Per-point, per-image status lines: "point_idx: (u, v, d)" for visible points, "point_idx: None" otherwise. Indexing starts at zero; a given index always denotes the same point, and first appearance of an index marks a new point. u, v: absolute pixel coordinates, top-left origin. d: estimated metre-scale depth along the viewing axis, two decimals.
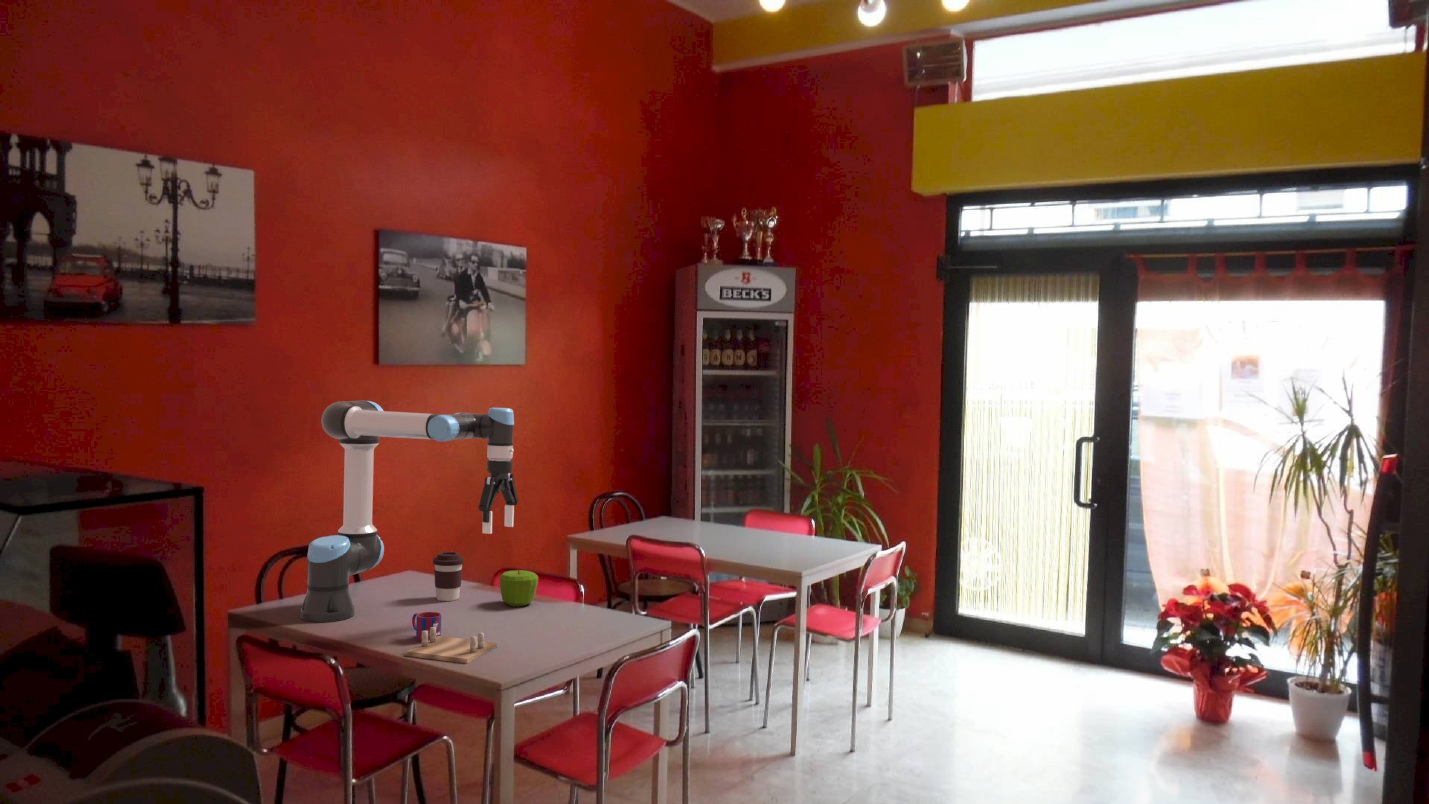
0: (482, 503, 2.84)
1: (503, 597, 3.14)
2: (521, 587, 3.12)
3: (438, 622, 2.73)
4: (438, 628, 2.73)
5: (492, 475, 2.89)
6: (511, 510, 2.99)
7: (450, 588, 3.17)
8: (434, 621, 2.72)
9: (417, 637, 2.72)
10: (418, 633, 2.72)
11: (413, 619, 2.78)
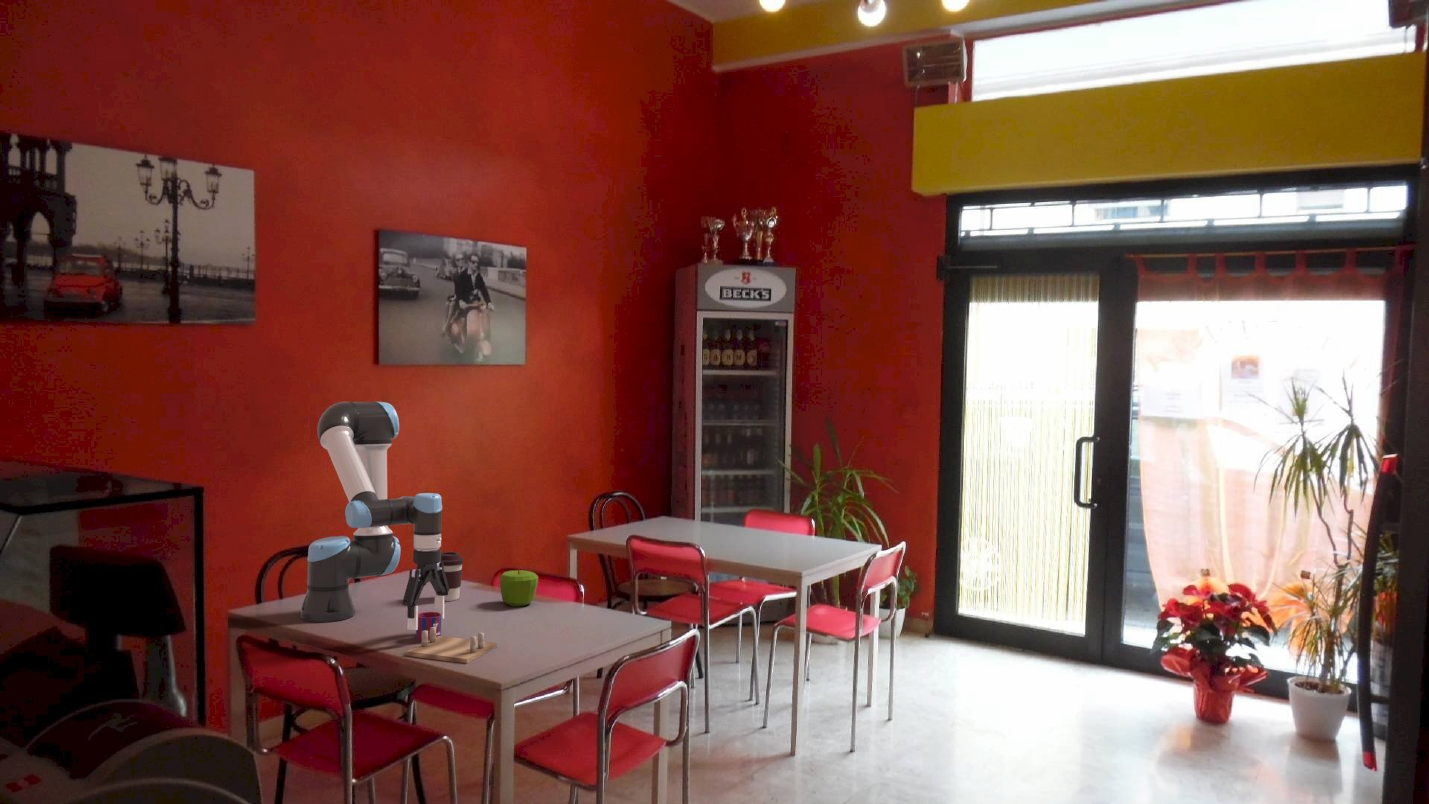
0: (406, 598, 2.66)
1: (503, 597, 3.14)
2: (521, 587, 3.12)
3: (438, 622, 2.73)
4: (438, 628, 2.73)
5: (418, 566, 2.72)
6: (441, 601, 2.81)
7: (450, 588, 3.17)
8: (434, 621, 2.72)
9: (417, 637, 2.72)
10: (418, 633, 2.72)
11: None
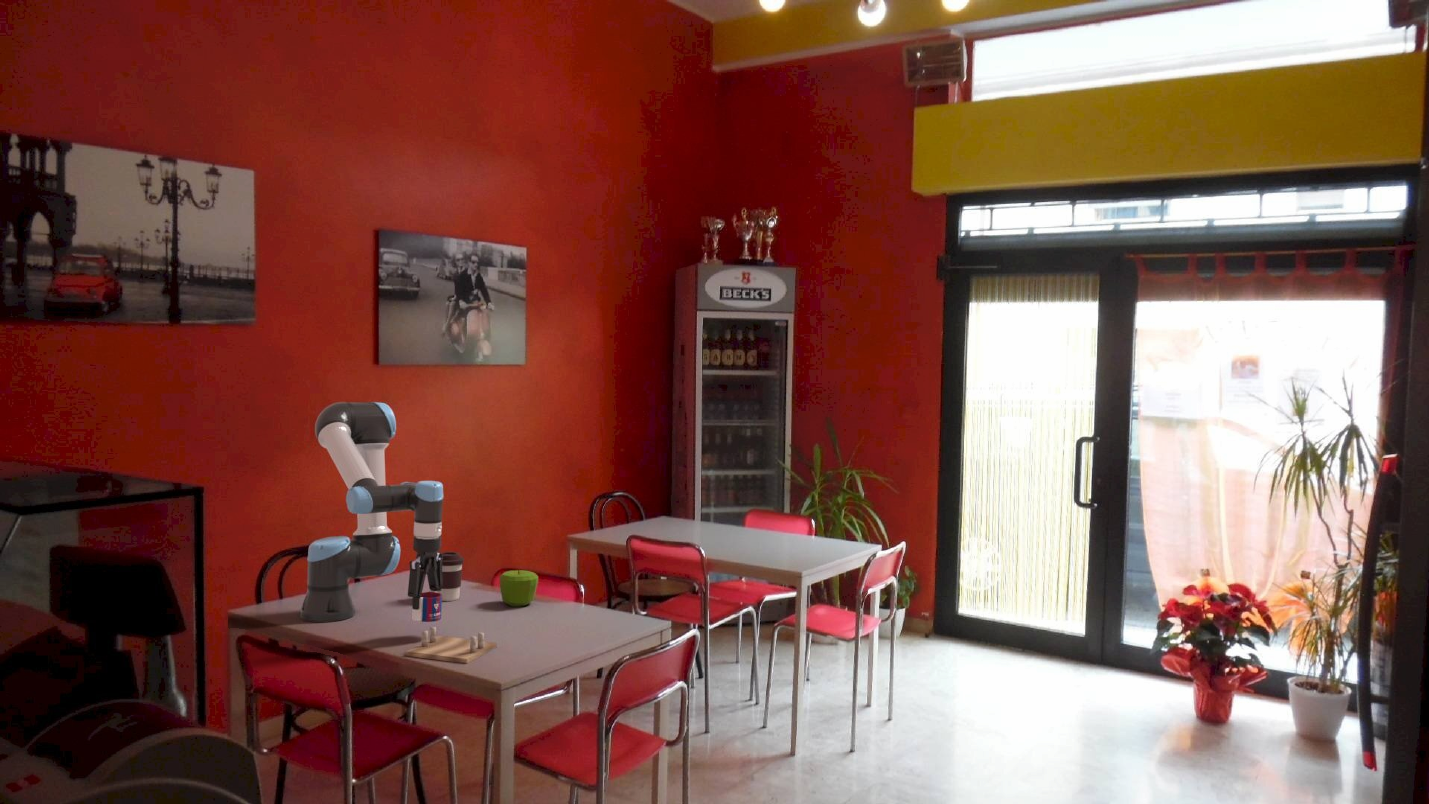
0: (410, 590, 2.69)
1: (503, 597, 3.14)
2: (521, 587, 3.12)
3: (439, 602, 2.74)
4: (439, 608, 2.74)
5: (418, 554, 2.72)
6: None
7: (450, 588, 3.17)
8: (435, 601, 2.73)
9: None
10: None
11: None
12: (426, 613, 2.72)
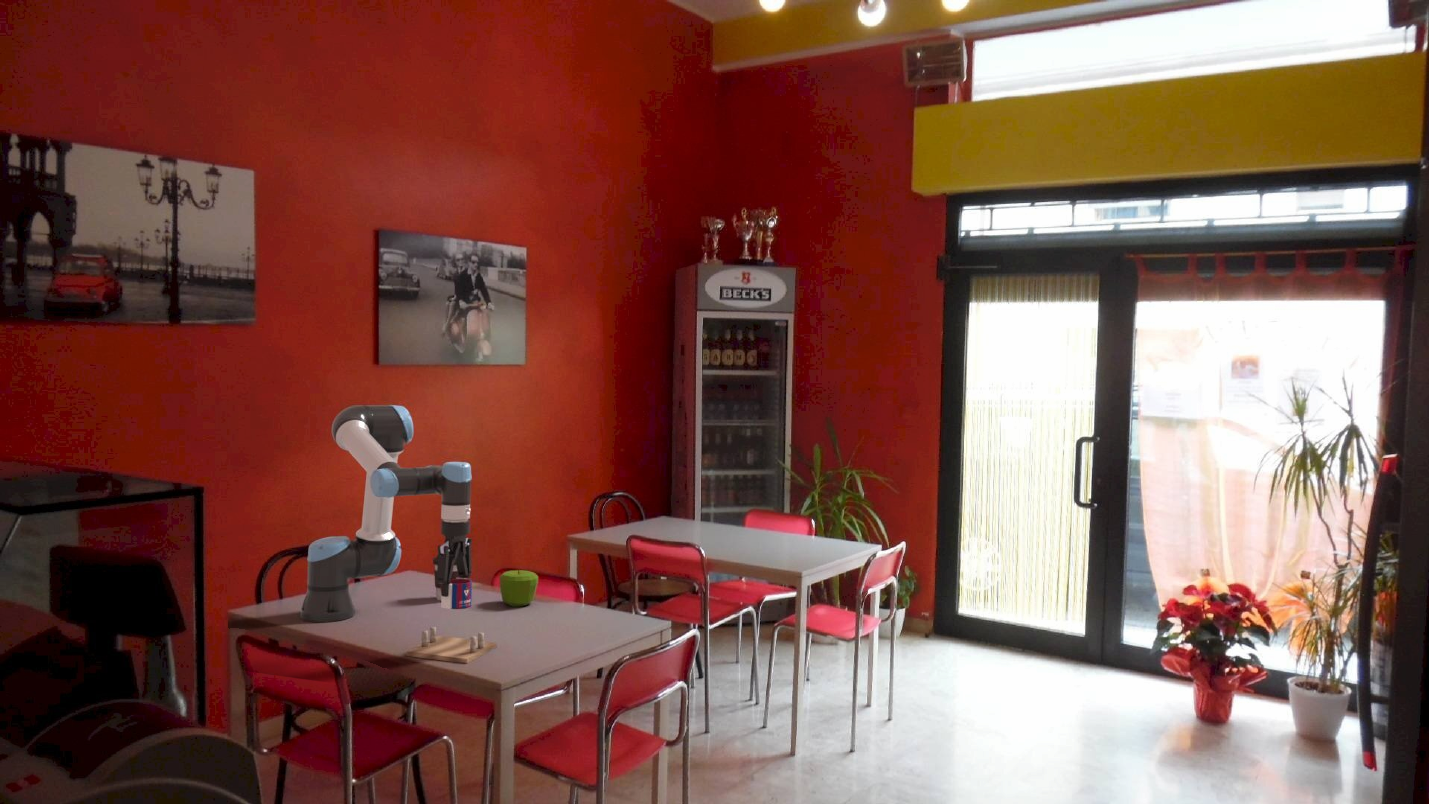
0: (439, 576, 2.56)
1: (503, 597, 3.14)
2: (521, 587, 3.12)
3: (469, 589, 2.61)
4: (469, 595, 2.61)
5: (446, 538, 2.59)
6: None
7: None
8: (465, 587, 2.60)
9: None
10: None
11: None
12: (456, 600, 2.59)
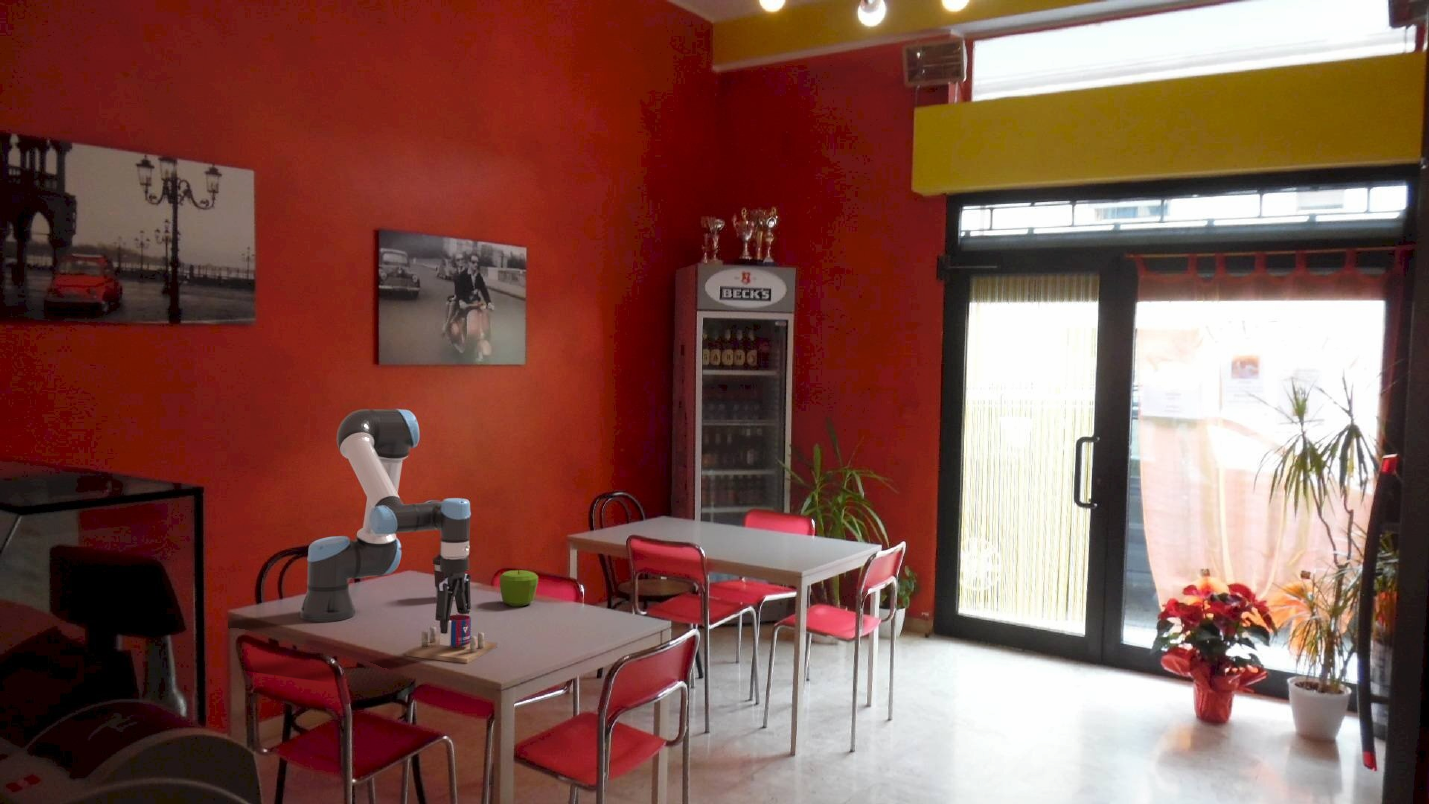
0: (438, 613, 2.56)
1: (503, 597, 3.14)
2: (521, 587, 3.12)
3: (468, 625, 2.62)
4: (468, 632, 2.62)
5: (445, 575, 2.59)
6: None
7: None
8: (464, 624, 2.60)
9: None
10: None
11: None
12: (455, 637, 2.59)
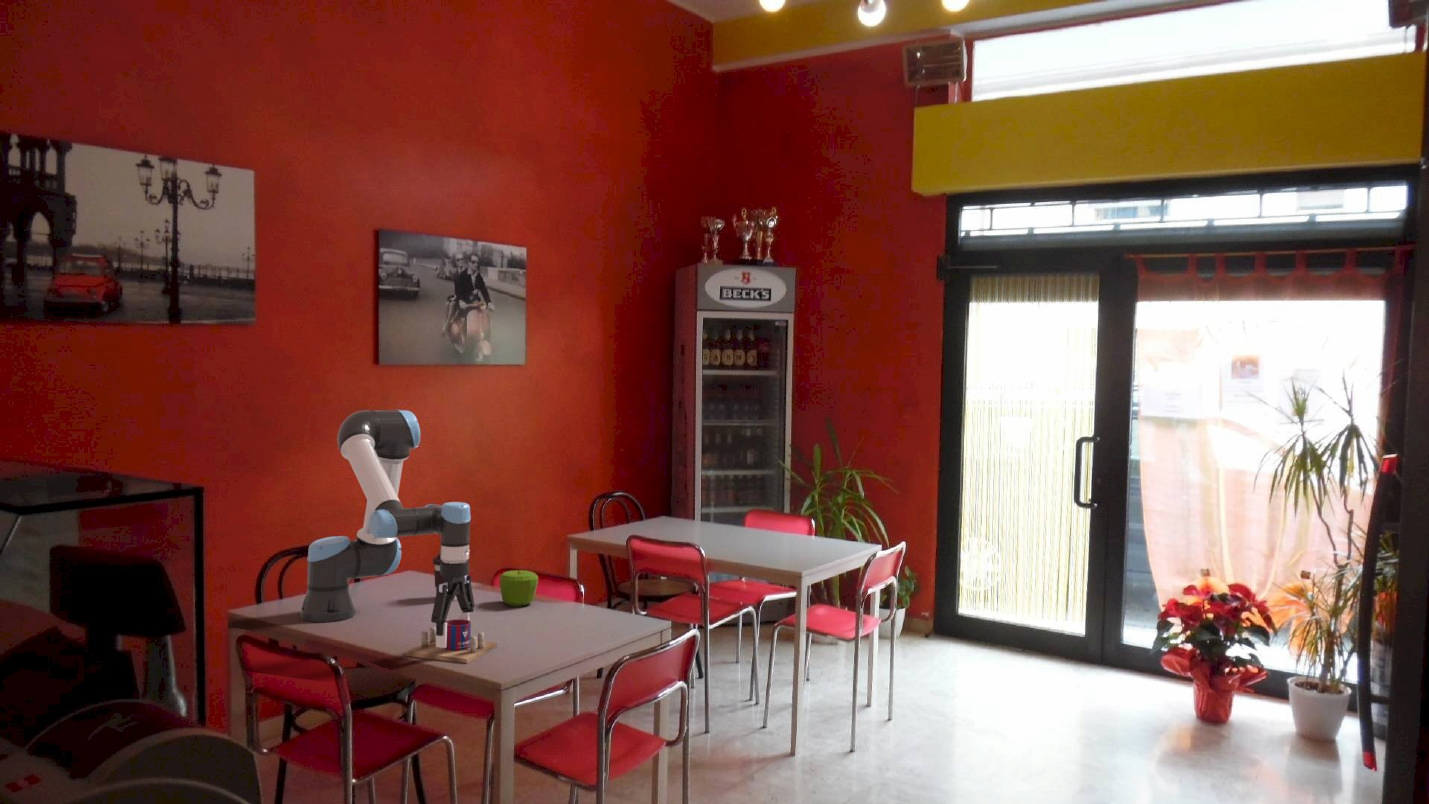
0: (435, 615, 2.55)
1: (503, 597, 3.14)
2: (521, 587, 3.12)
3: (468, 630, 2.62)
4: (468, 636, 2.62)
5: (445, 579, 2.59)
6: (466, 618, 2.68)
7: None
8: (464, 629, 2.60)
9: None
10: (447, 642, 2.60)
11: None
12: (455, 641, 2.60)
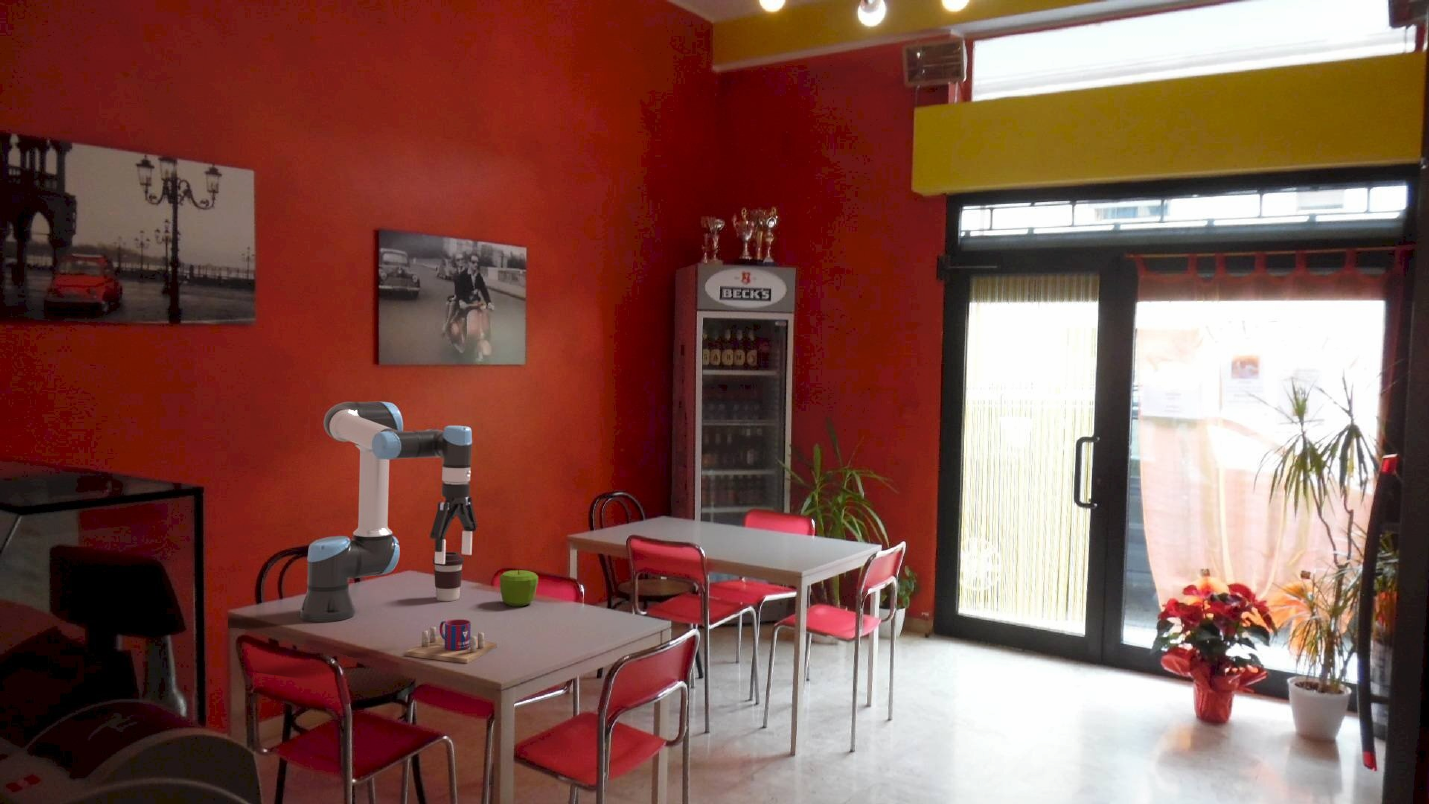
0: (434, 531, 2.60)
1: (503, 597, 3.14)
2: (521, 587, 3.12)
3: (468, 630, 2.62)
4: (468, 636, 2.62)
5: (447, 500, 2.65)
6: (469, 537, 2.75)
7: (450, 588, 3.17)
8: (464, 629, 2.60)
9: (446, 646, 2.61)
10: (447, 642, 2.60)
11: (440, 627, 2.66)
12: (455, 641, 2.60)
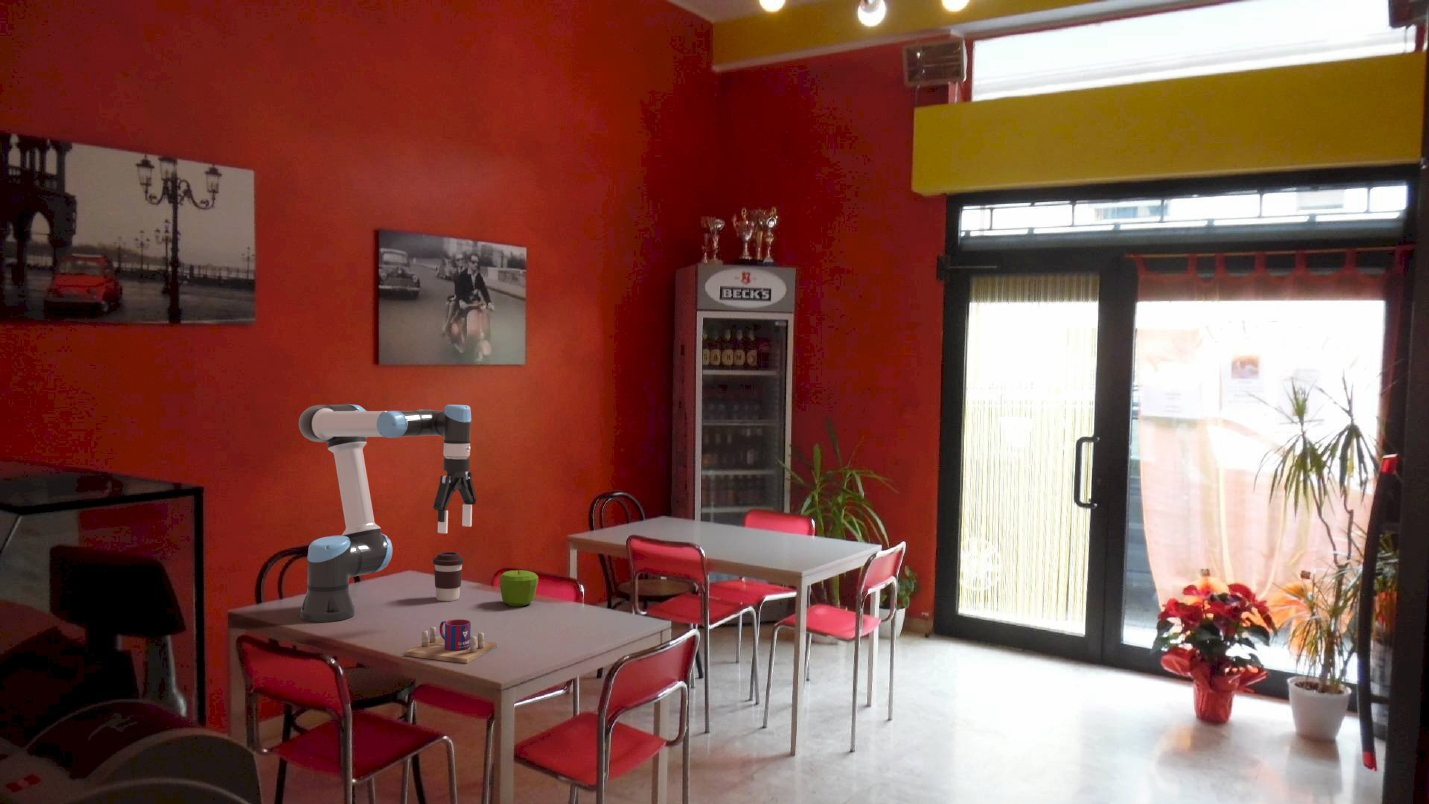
0: (437, 502, 2.78)
1: (503, 597, 3.14)
2: (521, 587, 3.12)
3: (468, 630, 2.62)
4: (468, 636, 2.62)
5: (448, 473, 2.83)
6: (469, 509, 2.93)
7: (450, 588, 3.17)
8: (464, 629, 2.60)
9: (446, 646, 2.61)
10: (447, 642, 2.60)
11: (440, 627, 2.66)
12: (455, 641, 2.60)
